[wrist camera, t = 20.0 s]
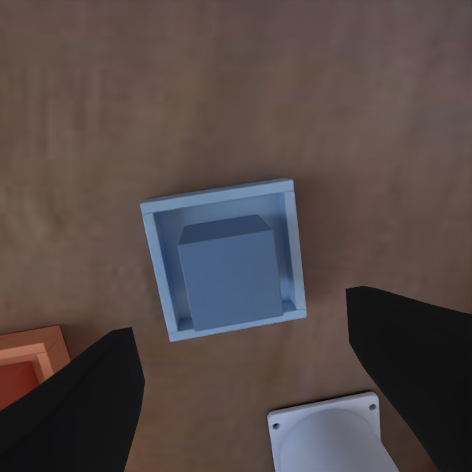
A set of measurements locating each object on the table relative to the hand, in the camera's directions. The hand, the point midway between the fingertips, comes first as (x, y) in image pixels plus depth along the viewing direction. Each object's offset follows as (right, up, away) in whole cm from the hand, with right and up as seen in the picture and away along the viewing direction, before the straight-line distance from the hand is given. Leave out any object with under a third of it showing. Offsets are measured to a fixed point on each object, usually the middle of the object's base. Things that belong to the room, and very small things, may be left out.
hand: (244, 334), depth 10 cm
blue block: (-1, +2, +9) cm, 9 cm away
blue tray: (-1, +2, +9) cm, 9 cm away
